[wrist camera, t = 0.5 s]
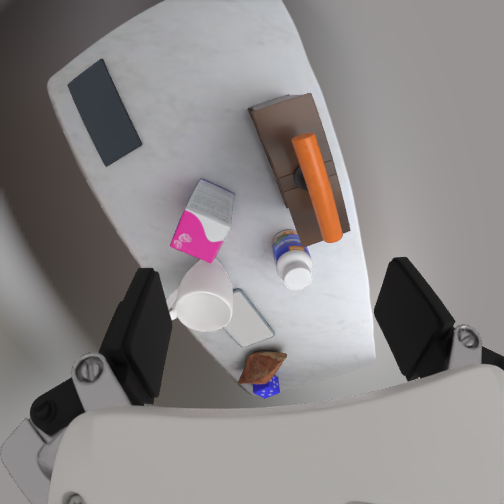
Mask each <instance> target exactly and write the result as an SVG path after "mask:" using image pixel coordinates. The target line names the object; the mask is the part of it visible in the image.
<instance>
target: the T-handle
mask: <svg viewBox="0 0 504 504" xmlns="http://www.w3.org/2000/svg"><path fill="white" fill-rule="evenodd" d="M291 141H292V144H293V147H294V150H295V152H296V155H297V158H298V161H299V164H300V165H299V166H298V167H297V168H296V170H295V172H294V181H295V183H296V184H297V186H298V187H299V188H300V189H302V190H305V191H309V195H310V198H311V201H312V204H313V207H314V211H315V214H316V217H317V221H318V224H319V228H320V231H321V235H322V238H323V240H324V241H325V242H327V243H333V242H337V241H339V240H340V239H341V238H342V236H343V233H342V229H341V225H340V221H339V216H338V212H337V208H336V205H335V201H334V197H333V193H332V189H331V186H330V182H329V179H328V175H327V172H326V168H325V165H324V161H323V158H322V155H321V152H320V148H319V145H318V142H317V139H316V136H315V134H314V133H305V134H301V135H298V136H296V137H294V138H293V139H292V140H291Z"/></svg>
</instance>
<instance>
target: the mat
mask: <svg viewBox="0 0 504 504" xmlns="http://www.w3.org/2000/svg"><path fill="white" fill-rule="evenodd" d="M68 88H69V90H70V92H71V95H72V97H73V100H74V102H75V104H76V106H77V109H78V111H79V113H80V115H81V118H82V120H83V122H84V124H85V126H86V128H87V130H88V132H89V134H90V137H91V139H92V141H93V143H94V145H95V147H96V149H97V151H98V153H99V155H100V157H101V158H102V160H103V162H104V164H105V166H106V167H107V166H108V165H110V164H111V163H113V162H114V161H116V160H118V159H119V158H121V157H123V156H124V155H126V154H128V153H129V152H131V151H133V150H134V149H136V148H138V147H140V146H141V145H143V144H142V142H141V140H140V138H139V136H138V134H137V132H136V130H135V128H134V126H133V124H132V122H131V120H130V118H129V116H128V113H127V111H126V109H125V107H124V105H123V103H122V101H121V99H120V96H119V94H118V92H117V90H116V88H115V85H114V83H113V81H112V79H111V77H110V74H109V72H108V70H107V67H106V65H105V63H104V61H103V59H100V60H99V61H97V62H96V63H95V64H93V65H92V66H91V67H89V68H88V69H87V70H85V71H84V72H83V73H81V74H80V75H79V76H78V77H76V78H75V79H74V80H73V81H71V82H70V83H69V84H68Z"/></svg>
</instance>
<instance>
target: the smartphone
mask: <svg viewBox="0 0 504 504" xmlns="http://www.w3.org/2000/svg"><path fill="white" fill-rule="evenodd" d="M223 328H224V330H225V331H226V332H227V333H228V334H229V335H230V336H231V337H232V338H233V339H234V340H235V341H236V342H237V343H238V344H239V345H240V346H241V347H247V346H250V345H253V344H255V343H258V342H261V341H263V340H266V339H268V338H271V337H273V336H274V335H275V333H274V331H273V330H272V329H271V327H270V326H269V325H268V324H267V322H266V321H265V320H264V318H263V317H262V316H261V315H260V313H259V312H258V311H257V309H256V308H255V307H254V306H253V304H252V303H251V302H250V300H249V299H248V298H247V296H246V295H245V294H244V293H243V291H242V290H240V289H236V290H234V291H233V313H232V318H231V320H230V322H229V323H228V324H227V325H226V326H225V327H223Z"/></svg>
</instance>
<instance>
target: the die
mask: <svg viewBox="0 0 504 504" xmlns="http://www.w3.org/2000/svg"><path fill="white" fill-rule="evenodd" d="M253 393H255V394H257V395H259V396H261V397H263V398H268V397H270V396H272V395H275V394H278V393H280V389H279V381H278V377H276V376H275V375H274V376H273V377H272V379H271V380H270V381H269V382H268V383H265V384H253Z"/></svg>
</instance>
